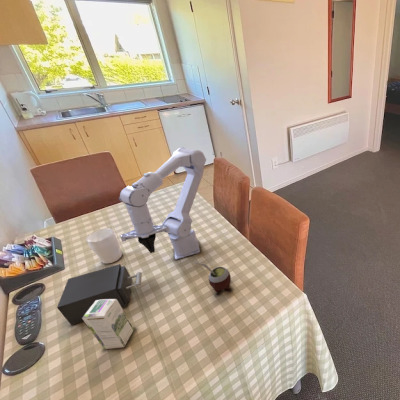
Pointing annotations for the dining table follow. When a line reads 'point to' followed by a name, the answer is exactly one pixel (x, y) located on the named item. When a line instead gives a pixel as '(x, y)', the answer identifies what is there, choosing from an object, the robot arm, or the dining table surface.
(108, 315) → the syrup box
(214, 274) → the mate gourd
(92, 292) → the black drawer box
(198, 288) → the dining table surface
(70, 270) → the dining table surface
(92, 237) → the cup
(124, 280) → the dark grey drawer
